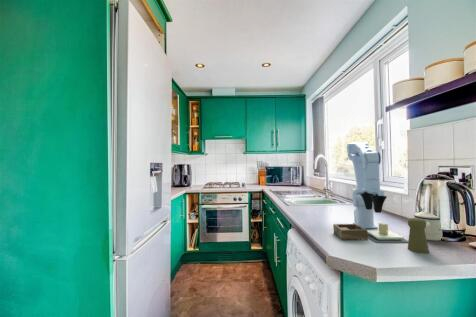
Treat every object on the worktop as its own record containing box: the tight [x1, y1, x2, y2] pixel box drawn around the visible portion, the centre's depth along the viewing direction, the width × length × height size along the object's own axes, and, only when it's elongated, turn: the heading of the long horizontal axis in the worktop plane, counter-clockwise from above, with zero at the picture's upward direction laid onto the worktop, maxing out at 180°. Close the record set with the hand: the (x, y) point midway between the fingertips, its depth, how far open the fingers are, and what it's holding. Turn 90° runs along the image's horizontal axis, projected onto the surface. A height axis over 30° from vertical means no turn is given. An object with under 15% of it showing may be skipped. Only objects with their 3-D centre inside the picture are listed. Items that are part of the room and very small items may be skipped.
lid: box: [366, 222, 405, 240], centre depth 97 cm, size 10×10×5 cm
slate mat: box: [367, 233, 409, 244], centre depth 97 cm, size 13×13×1 cm
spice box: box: [332, 223, 369, 241], centre depth 100 cm, size 10×10×4 cm
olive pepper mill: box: [407, 217, 430, 254], centre depth 83 cm, size 6×6×11 cm
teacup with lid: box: [413, 210, 443, 242], centre depth 95 cm, size 12×9×12 cm
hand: (373, 210), depth 101 cm, fingers open, 7 cm apart
